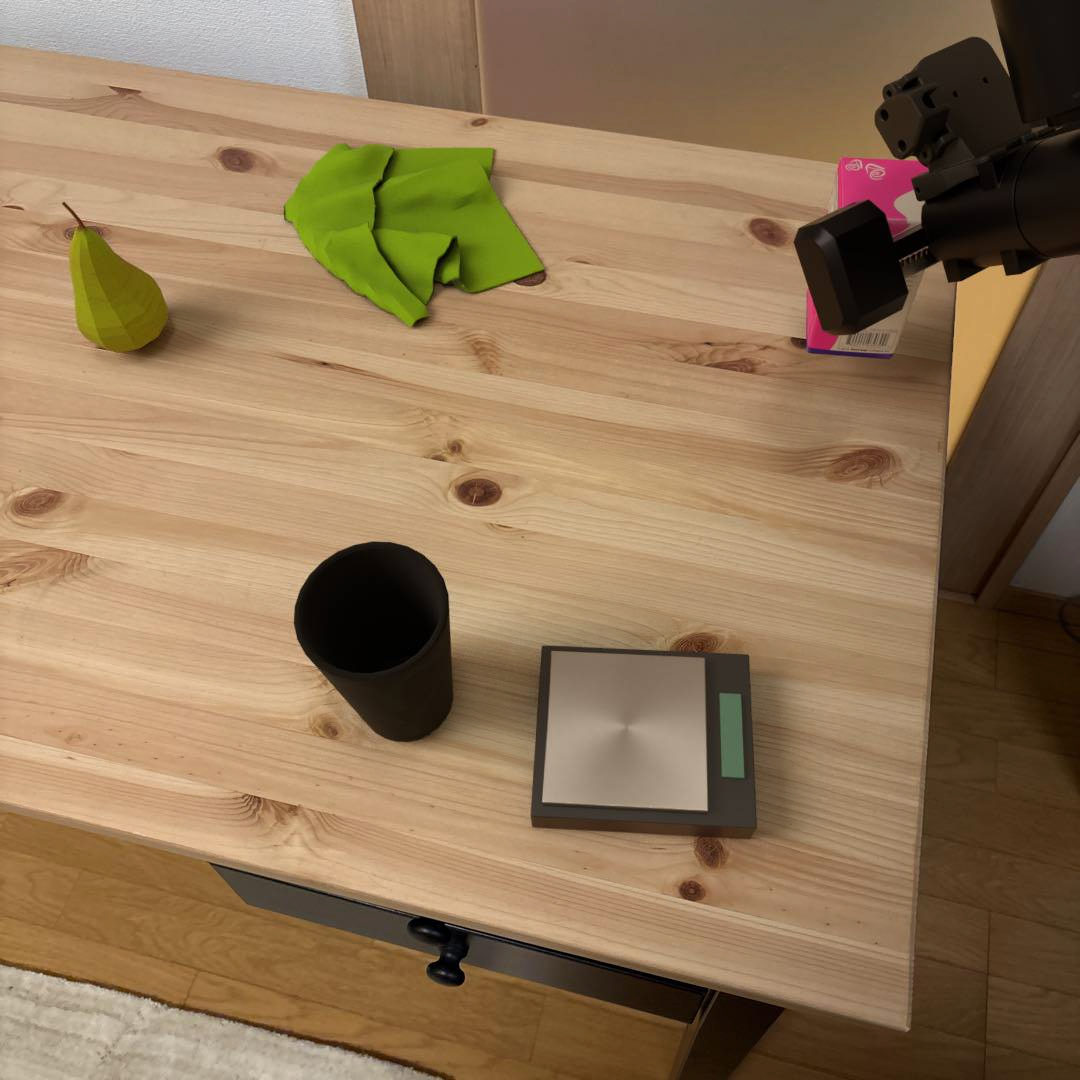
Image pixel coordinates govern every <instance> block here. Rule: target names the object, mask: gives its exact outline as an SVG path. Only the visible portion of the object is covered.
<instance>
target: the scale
mask: <svg viewBox="0 0 1080 1080" xmlns="http://www.w3.org/2000/svg"><path fill="white" fill-rule="evenodd" d="M540 651H541V653H540V665H539V667H540V669H539V681H538V683H539V684H538V697H537V713H536V725H535V726H536V728H535V740H534V755H533V757H534V758H533V772H532V788H531V800H530V802H531V803H530V822H531V827H532V828H537V829H539V828H540V829H557V830H574V831H575V830H576V831H592V832H593V831H594V832H610V833H629V834H630V833H632V834H645V835H646V834H647V835H648V834H650V835H665V836H666V835H667V836H684V837H702V838H703V837H704V838H720V839H740V840H751V838H752V836H753V835H754V834H755V832H756V830H757V828H758V818H757V798H756V797H757V796H756V776H755V775H756V773H755V772H756V771H755V757H754V756H755V754H754V732H753V712H752V711H753V710H752V690H751V686H752V685H751V669H750V668H751V667H750V666H751V665H750V664H751V663H750V655H749V654H748V653H747V654H746V653H728V652H727V653H726V652H724V653H723V652H702V651H683V650H682V651H678V650H658V649H657V650H656V649H655V650H654V649H639V648H637V649H635V648H615V647H614V648H613V647H594V646H593V647H590V646H589V647H588V646H567V645H566V646H565V645H549V644H548V645H546V644H545V645H541V650H540Z"/></svg>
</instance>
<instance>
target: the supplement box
mask: <svg viewBox="0 0 1080 1080" xmlns="http://www.w3.org/2000/svg"><path fill="white" fill-rule="evenodd" d="M927 171H929V170H928V168H927V167H925V166H923V165H922V164H921V163H920V162H919V161H918V160H908V159H904V160H900V159H889V158H867V157H847V156H846V157H845V156H841V157H840V159H839V161H838V164H837V169H836V173H835V176H834V180H833V181H834V182H833V185H832V189H831V194H830V197H829V201H828V206H827V209H826V214H825V215H827V214H829V213H831V212H833V211H835V210H838V209H840V208H843V207H845V206H847V205H849V204H851V203H853V202H860V201H864V200H868V199H869V200H870V201H872V202H873V203H874V204H875V205H876V206H877V207H878V208H880V209H881V210H882V211H883V212H884V213H885V214H886V218H887V221H888V224H889V228H890V231H891V234H892V238H893V237H895V236H897V235H899V234H901V233H903V232H905V231H907V230H909V229H911V228H913V227H915V226H917V225H919V224H921V210H922V206H923V204H924V201H922V202H919V201H917V199H916V196H915V192H914V189H913V185H912V182H911V178H913V177H915V176H917V175H919V174H921V173H923V172H927ZM925 248H928V247H925ZM923 249H924V248H923ZM923 249H921V250H919V251H923ZM917 252H918V251H917ZM917 252H915V253H913V254H917ZM910 256H912V254H911V255H909V256H907V257H910ZM903 259H906V257H905V258H903ZM903 259H901V260H903ZM901 260H899V261H900V262H901ZM925 272H926V269H925V270H923V271H921V272H919V273H917V274H915V275H913V276H911V277H909V278H907V279H905V281H906V285H907V288H908V291H909V294H908V296H907V299H906V301H905V304H904V306H903V309H902V310H901V311H899V312H897V313H895V314H893V315H891V316H889V317H887V318H885V319H883V320H881V321H880V322H878V323H876V324H874V325H872V326H870V327H868V328H866V329H864V330H862V331H860V332H858V333H856V334H854V335H840V336H833V335H831V334H829V333H826V332H824V331H822V328H821V325H820V322H819V319H818V316H817V312H816V309H815V306H814V303H813V300H812V297H811V294H810V291H809V288H808V287H807V290H806V317H805V318H806V322H805V332H806V333H805V339H806V340H805V345H806V349H805V350H806V353H807V354H812V355H813V354H814V355H823V356H826V355H827V356H828V355H829V356H839V357H840V356H841V357H851V358H852V357H853V358H865V359H866V358H867V359H878V360H879V359H880V360H892V359H893V357H894V354H895V352H896V350H897V348H898V345H899V342H900V340H901V337H902V333H903V331H904V329H905V326H906V324H907V321H908V318H909V315H910V312H911V310H912V306H913V304H914V301H915V299H916V296H917V293H918V291H919V287H920V285H921V282H922V279H923V276H924V274H925Z"/></svg>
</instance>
